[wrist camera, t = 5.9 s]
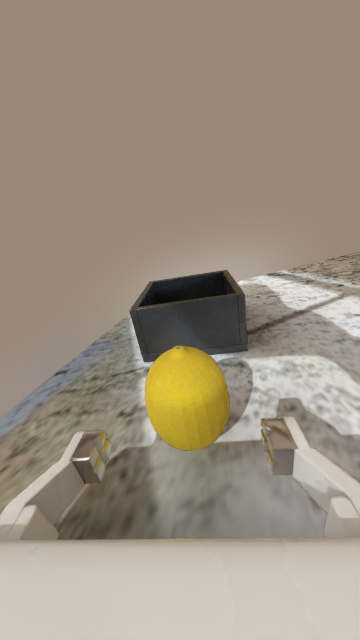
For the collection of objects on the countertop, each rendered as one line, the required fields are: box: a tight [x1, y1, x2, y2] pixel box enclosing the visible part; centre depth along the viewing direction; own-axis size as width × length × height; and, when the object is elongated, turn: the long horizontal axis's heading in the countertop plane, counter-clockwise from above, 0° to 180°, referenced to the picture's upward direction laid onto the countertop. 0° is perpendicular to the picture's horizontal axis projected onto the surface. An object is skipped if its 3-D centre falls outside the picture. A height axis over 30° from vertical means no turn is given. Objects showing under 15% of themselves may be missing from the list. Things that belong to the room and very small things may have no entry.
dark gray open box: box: [130, 270, 248, 362], centre depth 30 cm, size 13×13×7 cm
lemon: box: [145, 346, 230, 451], centre depth 15 cm, size 6×6×8 cm
